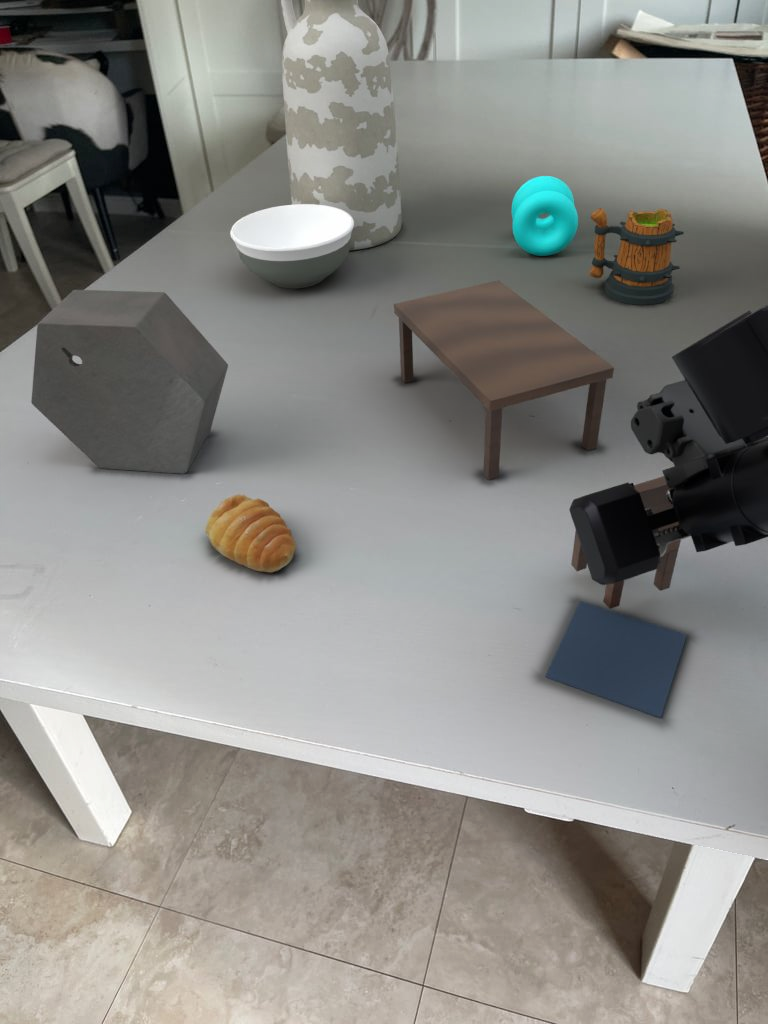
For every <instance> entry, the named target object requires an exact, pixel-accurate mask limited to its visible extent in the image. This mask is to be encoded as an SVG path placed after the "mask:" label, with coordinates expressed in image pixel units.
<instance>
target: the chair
mask: <svg viewBox="0 0 768 1024" xmlns="http://www.w3.org/2000/svg"><path fill="white" fill-rule="evenodd" d="M634 487H635V489H636V490H637V491H638V492H639V493H640V496H641V499H642V502H643V505H644V508H645V509H648V508H651V509H652V512H653V514H654V513H657V512H660V511H664V510H667V509H670V508H673V504H671V503H670V502H669V501H668V498H667V495H666V492H667V491H668V490H670V489H673V488H674V487H672V488H669V487H668V486H667V483H666V480H665V477H664V475H663V476H660V477H655V478H653V479H650V480H646V481H644V482H640V483H637V484H634ZM677 525H679V523H678V522H676V523H673V524H670V525H667V526H664V527H661V528H658V530H659V531H663V530H664V529H667V530H668V528H670V527H672V529H673V526H677ZM574 531H575V533H574V539H573V548H572V556H571V563H570V564H571V567H573V569H574V570H575V571H576V572H581V571H582V570H586V569H587V568H588V565H587V562H586V559H585V556H584V553H583V550H582V547H581V544H580V541H579V538H578V535H577V532H576V530H574ZM654 536H658V534H657V535H654ZM681 541H682V539H681V540H678V541H675V542H672V543H669V544H668V545H667V550H666V553H665V554H664V555H663V556H662V557H660V559H659V561H660V563H659V564H658V568H657V569H656V570H655V575H654V579H653V585H654V587H655V588H656V589H657V590H658V591H659V592H662V591H665V590H667V589H670V587H671V583H672V579H673V575H674V571H675V566H676V562H677V558H678V554H679V550H680V547H681ZM624 583H625V580H624V581H621V582H618V583H615V584H606V585H605V587H604V594H603V600H602V601H603V603H604V604H605V605H606V607H607V608H608V610H611V609H614V608H616V607H620V604H621V599H622V594H623V590H624V589H623V588H624Z"/></svg>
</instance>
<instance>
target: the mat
mask: <svg viewBox="0 0 768 1024" xmlns="http://www.w3.org/2000/svg"><path fill="white" fill-rule="evenodd" d="M687 636H688V635H687V634H685V633H683V632H680V631H677V630H673V629H671V628H670V629H669V628H667V627H663V626H660V625H657V624H655V623H654V624H653V623H650V622H648V621H644V620H641V619H639V618H635V617H631V616H628V615H625V614H622V613H619V612H615V611H613V610H611V609H606V608H603V607H599V606H597V605H593V604H590V603H587V602H583V601H579V603H578V605H577V607H576V609H575V611H574V613H573V615H572V618H571V620H570V622H569V624H568V626H567V628H566V630H565V633H564V635H563V637H562V639H561V641H560V643H559V646H558V648H557V650H556V652H555V654H554V656H553V659H552V661H551V663H550V665H549V667H548V669H547V671H546V673H545V678H547V679H550V680H553V681H556V682H559V683H561V684H564V685H567V686H569V687H572V688H575V689H578V690H581V691H583V692H585V693H589V694H592V695H595V696H598V697H601V698H603V699H605V700H609V701H612V702H614V703H617V704H620V705H623V706H625V707H628V708H631V709H634V710H637V711H639V712H642V713H645V714H647V715H651V716H653V717H656V718H659V719H661V718H662V715H663V713H664V709H665V706H666V703H667V699H668V696H669V693H670V690H671V687H672V684H673V680H674V677H675V675H676V672H677V668H678V665H679V661H680V658H681V656H682V655H681V654H682V652H683V648H684V646H685V641H686V639H687Z"/></svg>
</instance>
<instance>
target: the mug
mask: <svg viewBox="0 0 768 1024" xmlns="http://www.w3.org/2000/svg"><path fill="white" fill-rule="evenodd" d="M590 219H591V220H592V221H593V222H594V223H595V224H596V225H595V226H594V233H595V238H594V245H593V248H594V249H593V251H594V257H593V258H592V261H591V264H592V266H591V268H590V269H589V271H588V273H589V275H590V277H591V278H595V279H599V278H600V279H601V278H602V277H603V275H604V267H606V268H608V269H611V272H610V273H609V275H608V277H607V279H606V280H605V282H604V289H603V290H604V291H605V294H606V295H607V296H608V297H610V298H611V299H613V300H614V301H617V302H621V303H624V304H630V305H636V306H645V305H646V306H648V305H656V304H660V303H664V302H666V301H667V300H670V299H671V298H672V296H673V293H674V289H675V285H674V283H673V275H672V273H673V271H676V270H679V269H680V266H679V265H673V263H672V261H671V259H672V257H671V255H672V254H671V253H672V243H677V241H678V239H676V238H677V237H678V236H681V235H684V231H681V230H676V228H675V227H674V226H676V224H675V223H674V220H673V218H672V214H671V213H670V211H668V210H667V209H663V208H658V209H657V211H637V212H636V211H634V210H629V213H628V214H627V217H626V221H621V222H620V225H622V226H619V225H610V226H609V225H608V215H607V213H606V211H605V210H604V209H603V208H601V207H599V208H596V209H595V210H594V211H593V212H592V213H591V214H590ZM607 234H616V235H619V240H620V244H619V249H618V252H617V254H613V258H614V260H608V259H606V257H605V247H606V236H607Z"/></svg>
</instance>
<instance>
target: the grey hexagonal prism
mask: <svg viewBox="0 0 768 1024" xmlns="http://www.w3.org/2000/svg"><path fill="white" fill-rule="evenodd" d="M74 356H75V357H78V358H80V360H81V362H82V363H78V362H75V361H74V360H73V357H74ZM33 362H34V363H33V375H32V390H31V400H30V401H31V405H33V407H34V408H36V410H37V411H39V412H40V413H41V414H42V415H43V416H44V417H45V418H46V419H47V420H48V421H49V422H50V423H51V424H52V425H53V426H54V427H55V428H56V429H58V431H60V432H61V433H62V434H63V435H64V436H65V437H66V438H67V439H68V440H69V441H70V442H71V443H72V444H73V445H74V446H75V447H76V448H77V449H78V450H80V451H81V453H83V454H84V455H85V456H86V457H87V458H88V459H89V460H90V461H91V462H92V463H93V464H94V465H95V466H96V467H97V468H99V469H107V470H119V471H135V472H150V473H151V472H152V473H164V474H165V473H166V474H167V473H168V474H181V475H183V474H186V473H187V472H188V471H189V469H190V467H191V466H192V464H193V462H194V460H195V459H196V457H197V456H198V454H199V452H200V450H201V448H202V447H203V445H204V443H205V442H206V440H207V438H208V436H209V435H210V434H211V429H212V427H213V422H214V419H215V416H216V413H217V412H216V411H217V408H218V404H219V400H220V397H221V394H222V390H223V387H224V382H225V379H226V375H227V371H228V368H229V364H228V363H227V362H226V360H225V359H224V358H223V356H221V354H220V353H219V352H218V351H217V350H216V349H215V347H214V346H213V345H212V344H211V343H210V342H209V340H208V339H206V337H205V336H204V335H203V334H202V333H201V332H200V330H199V329H198V328H197V327H196V326H195V325H194V323H193V322H192V321H191V320H190V319H189V318H188V317H187V316H186V315H185V313H184V312H183V310H181V308H179V307H178V305H177V304H176V303H175V302H174V301H173V300H172V298H170V296H169V295H168V294H167V292H165V291H164V292H163V291H136V290H135V291H134V290H99V289H98V290H97V289H72V291H71V292H70V293H69V294H68V295H67V296H65V297H64V298H63V299H62V301H60V302H59V303H58V304H57V305H55V307H53V308H52V310H51V311H49V312H48V313H47V314H46V316H44V317H43V318H42V319H41V320H40V321H39V322H38V323H37V327H36V338H35V351H34V361H33Z"/></svg>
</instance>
